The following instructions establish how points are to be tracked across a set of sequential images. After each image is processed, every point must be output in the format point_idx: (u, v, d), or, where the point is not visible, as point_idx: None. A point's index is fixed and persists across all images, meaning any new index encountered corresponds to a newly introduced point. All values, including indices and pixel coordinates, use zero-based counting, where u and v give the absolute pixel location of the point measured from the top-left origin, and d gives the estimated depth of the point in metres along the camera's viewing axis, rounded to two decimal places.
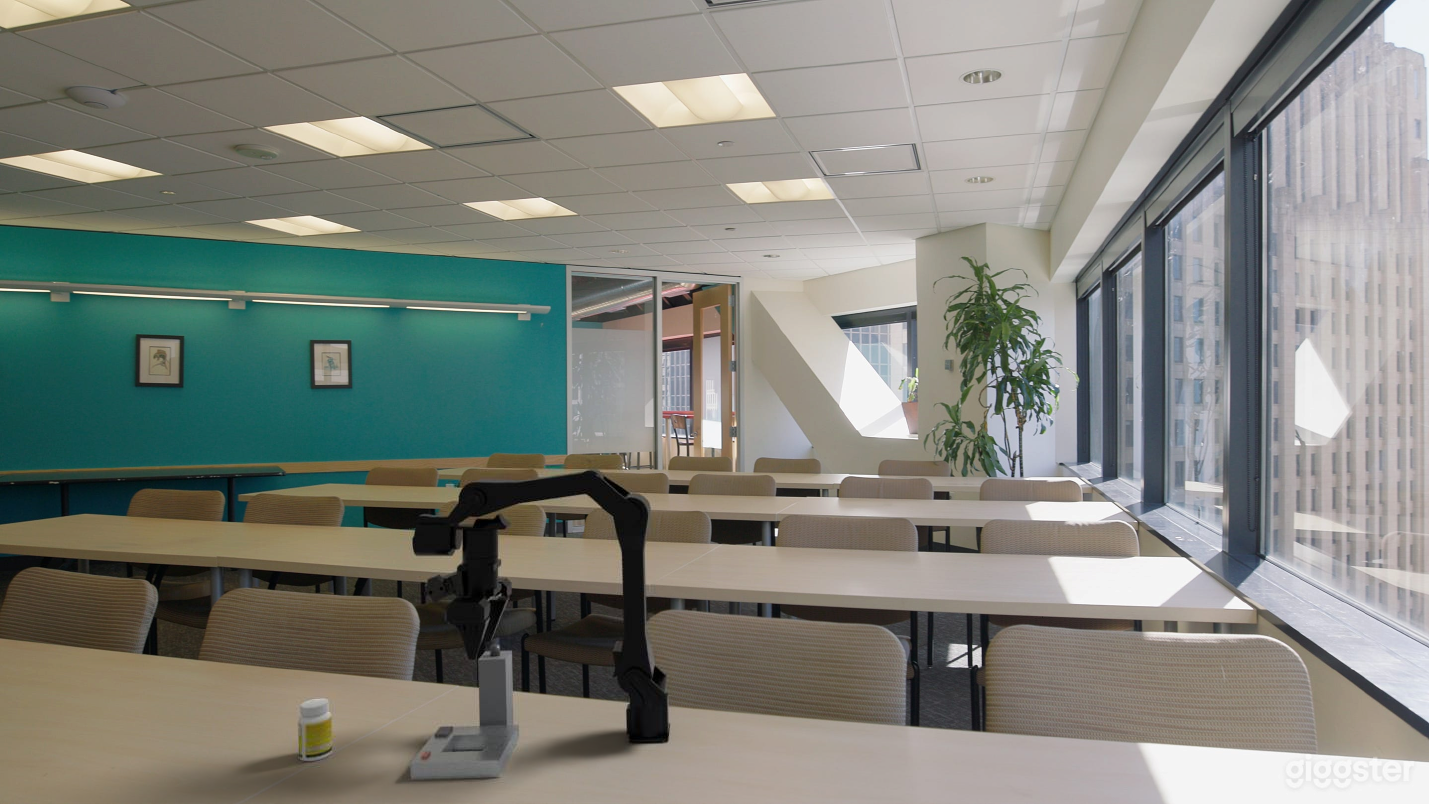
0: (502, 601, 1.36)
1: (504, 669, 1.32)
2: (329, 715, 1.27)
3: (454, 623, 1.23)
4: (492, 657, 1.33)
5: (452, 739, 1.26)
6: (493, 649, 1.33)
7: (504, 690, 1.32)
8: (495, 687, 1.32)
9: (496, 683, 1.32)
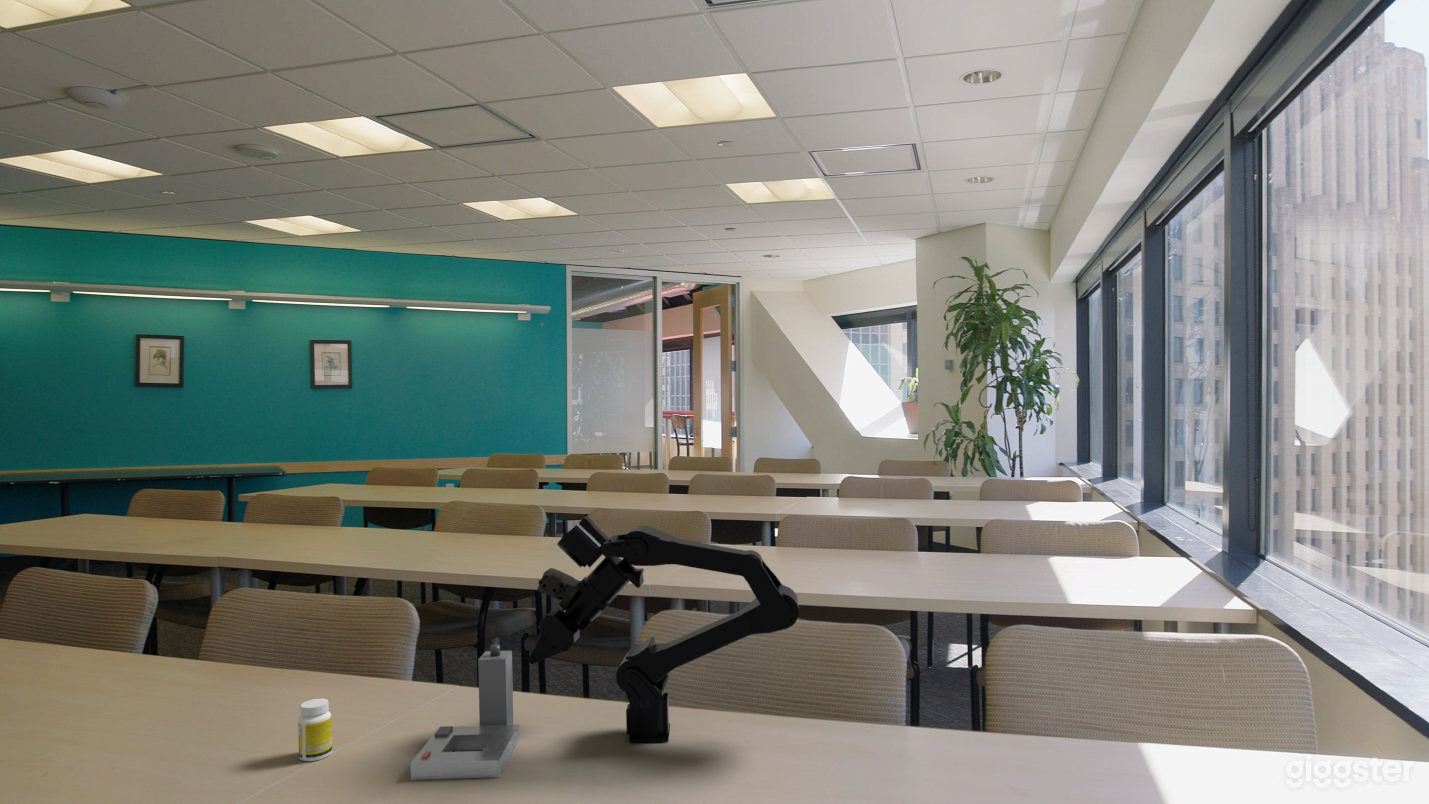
0: None
1: (504, 669, 1.32)
2: (329, 715, 1.27)
3: (542, 631, 1.25)
4: (492, 657, 1.33)
5: (452, 739, 1.26)
6: (493, 649, 1.33)
7: (504, 690, 1.32)
8: (495, 687, 1.32)
9: (496, 683, 1.32)
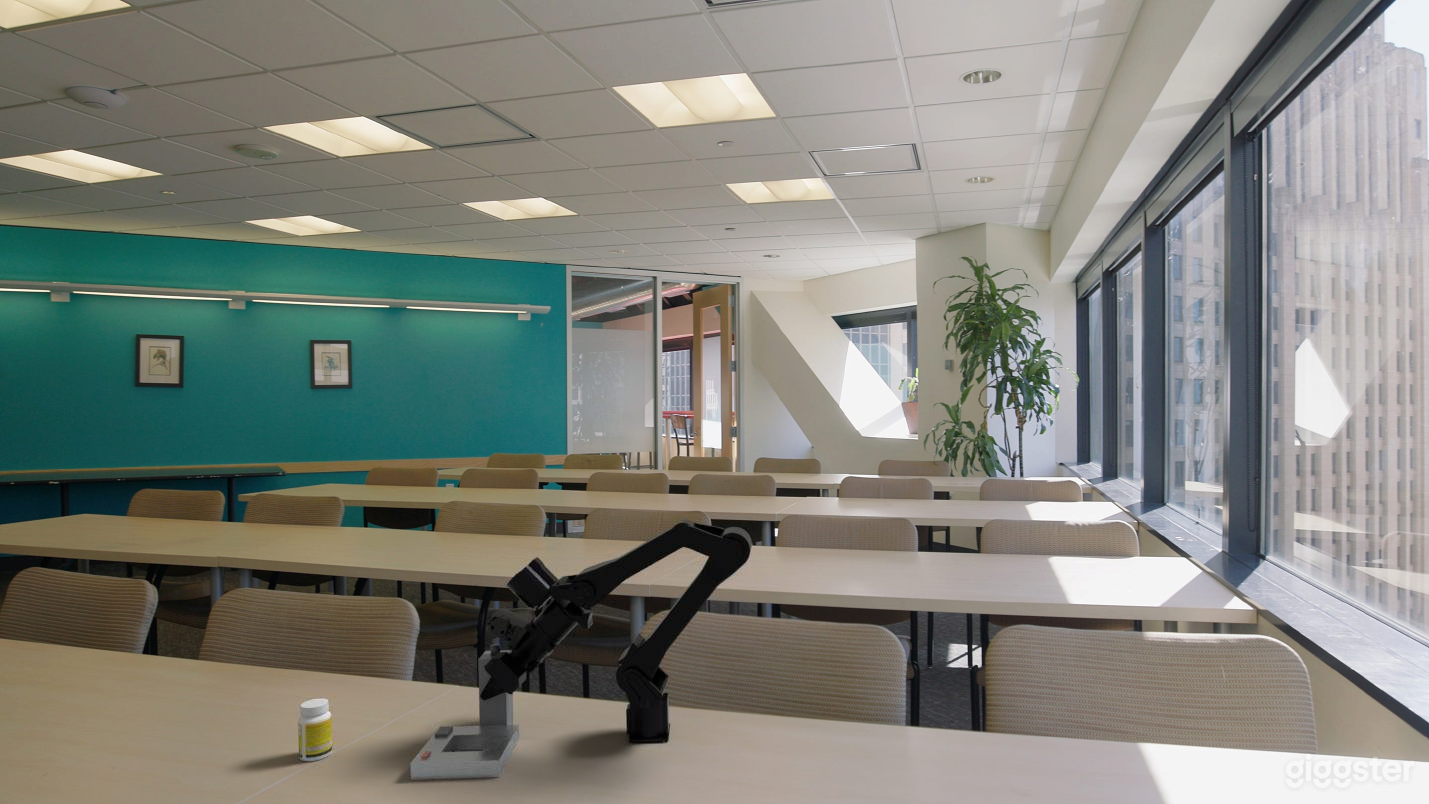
0: (530, 668, 1.36)
1: None
2: (329, 715, 1.27)
3: None
4: (492, 656, 1.33)
5: (452, 739, 1.26)
6: (493, 649, 1.33)
7: None
8: None
9: None
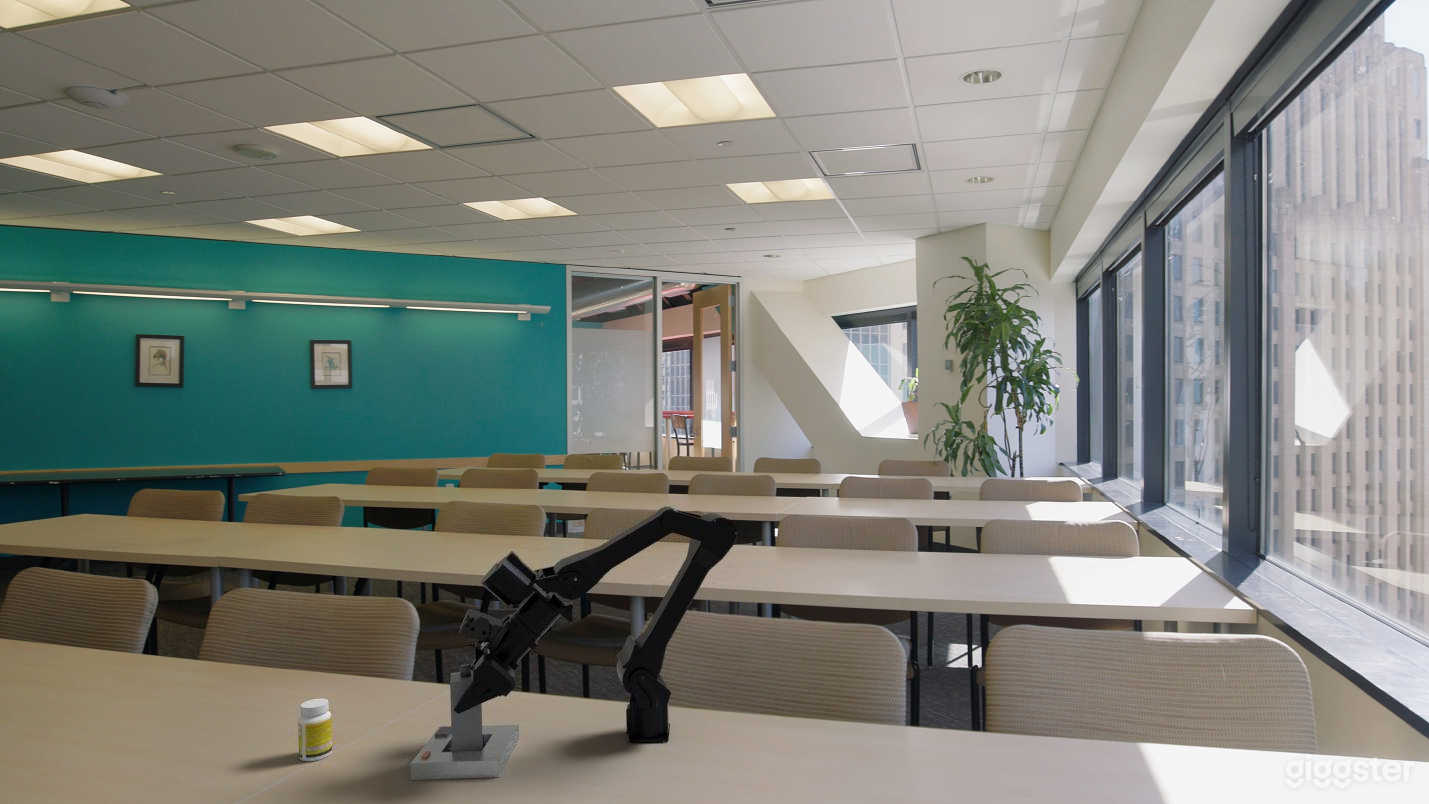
0: None
1: None
2: (329, 715, 1.27)
3: (478, 677, 1.17)
4: (463, 678, 1.23)
5: None
6: (464, 670, 1.23)
7: (479, 712, 1.22)
8: (470, 710, 1.22)
9: None
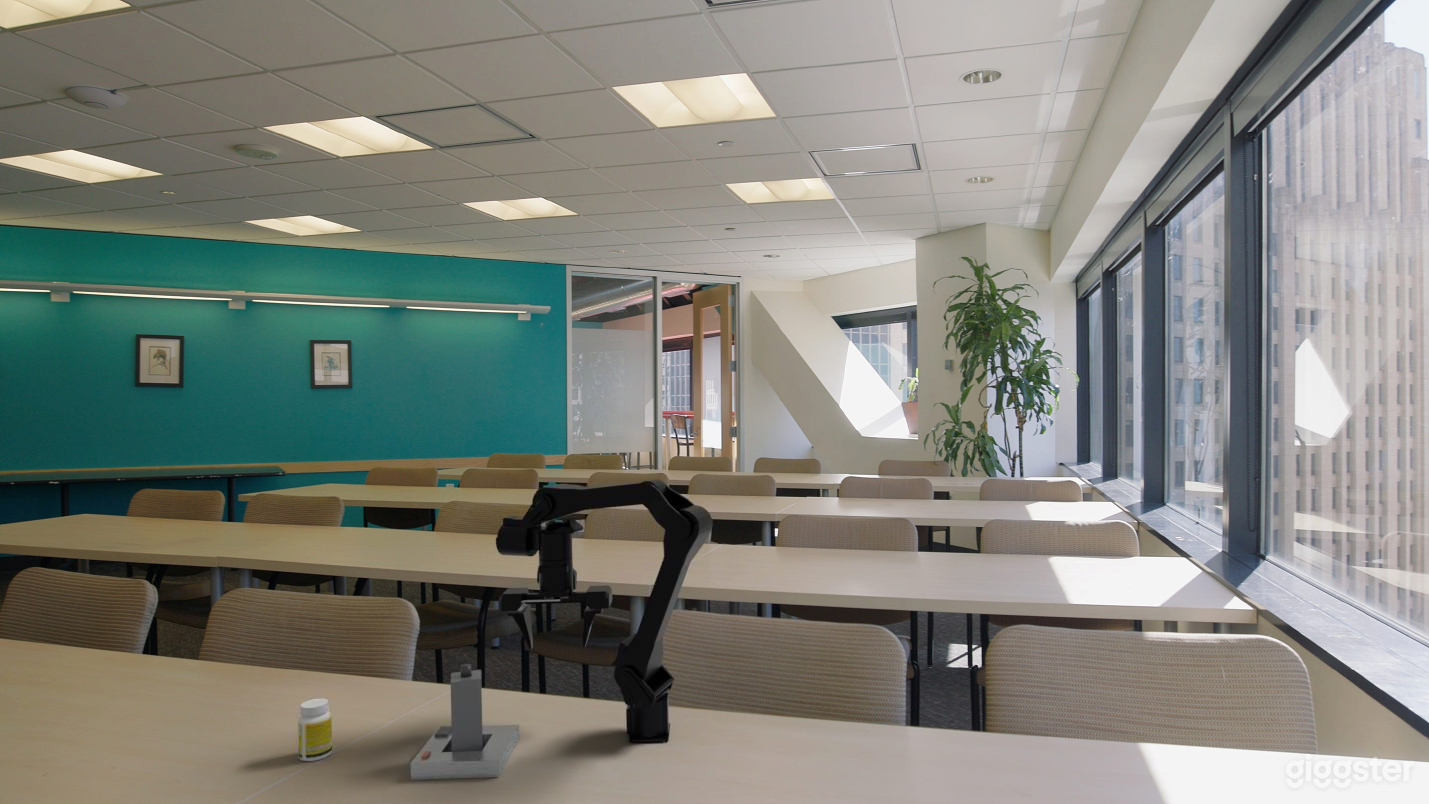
0: None
1: (480, 690, 1.22)
2: (329, 715, 1.27)
3: None
4: (464, 678, 1.23)
5: None
6: (465, 670, 1.23)
7: (480, 712, 1.22)
8: (470, 710, 1.22)
9: (471, 706, 1.22)
